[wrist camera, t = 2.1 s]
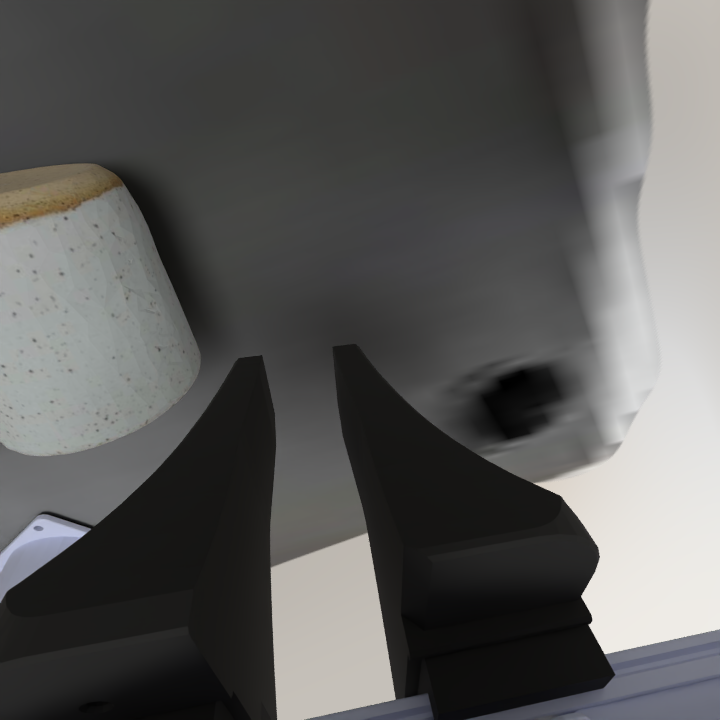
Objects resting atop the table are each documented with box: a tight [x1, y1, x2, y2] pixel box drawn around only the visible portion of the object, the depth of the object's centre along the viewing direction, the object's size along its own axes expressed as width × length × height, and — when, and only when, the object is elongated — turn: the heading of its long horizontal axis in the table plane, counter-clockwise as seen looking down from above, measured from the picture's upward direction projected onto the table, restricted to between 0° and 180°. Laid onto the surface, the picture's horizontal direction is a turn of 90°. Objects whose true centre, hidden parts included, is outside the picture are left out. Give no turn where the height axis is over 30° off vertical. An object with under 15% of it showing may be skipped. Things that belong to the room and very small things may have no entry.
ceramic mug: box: [0, 163, 201, 456], centre depth 15 cm, size 11×8×8 cm
